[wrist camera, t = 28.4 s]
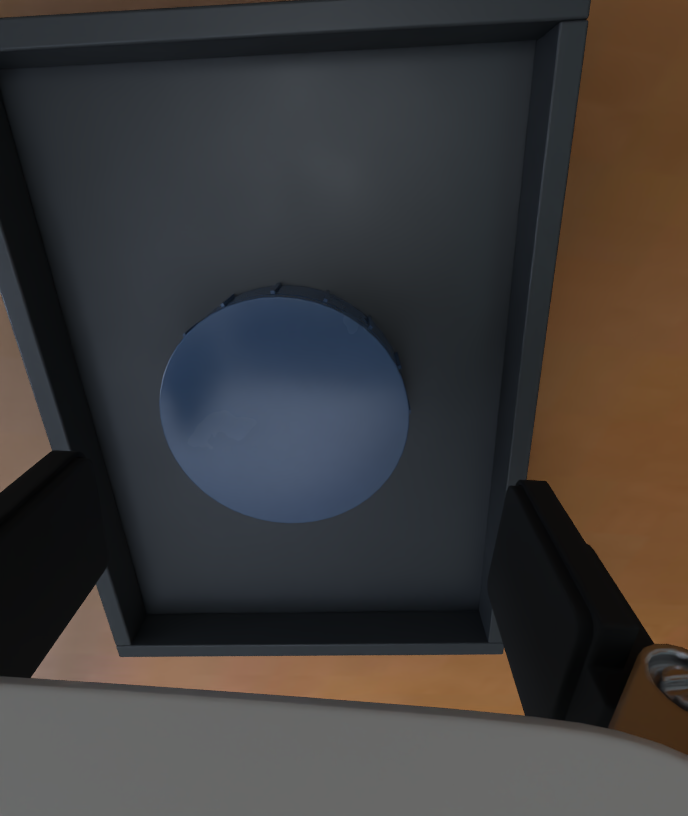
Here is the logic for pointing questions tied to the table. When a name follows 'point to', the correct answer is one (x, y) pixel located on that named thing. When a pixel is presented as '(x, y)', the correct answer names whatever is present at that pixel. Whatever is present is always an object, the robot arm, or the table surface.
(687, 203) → the table surface
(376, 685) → the table surface
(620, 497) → the table surface
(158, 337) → the tray
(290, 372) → the jar lid
